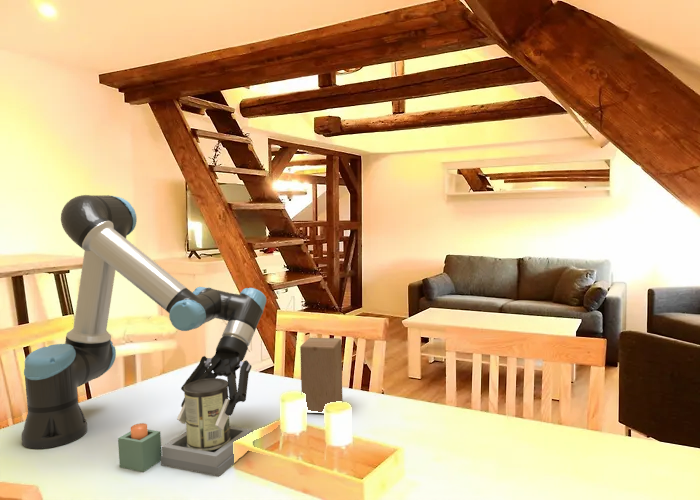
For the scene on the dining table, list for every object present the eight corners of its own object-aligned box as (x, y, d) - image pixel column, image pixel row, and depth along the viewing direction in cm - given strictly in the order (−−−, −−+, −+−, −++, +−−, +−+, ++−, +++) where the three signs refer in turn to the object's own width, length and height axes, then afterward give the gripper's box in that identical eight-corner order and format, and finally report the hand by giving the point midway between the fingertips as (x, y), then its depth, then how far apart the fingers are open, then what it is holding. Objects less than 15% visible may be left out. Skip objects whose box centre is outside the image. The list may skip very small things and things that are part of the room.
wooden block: (335, 415, 148) (333, 347, 147) (301, 413, 150) (299, 345, 149) (342, 402, 158) (341, 338, 156) (311, 401, 160) (309, 337, 158)
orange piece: (128, 449, 121) (127, 428, 121) (139, 442, 124) (138, 422, 124) (140, 451, 120) (139, 430, 119) (151, 444, 123) (150, 424, 123)
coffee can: (209, 429, 133) (207, 375, 131) (239, 438, 127) (237, 381, 126) (176, 445, 124) (174, 387, 123) (207, 455, 118) (204, 395, 117)
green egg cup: (119, 467, 121) (117, 438, 120) (138, 455, 126) (137, 427, 126) (143, 472, 118) (141, 442, 118) (161, 460, 124) (160, 431, 123)
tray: (161, 464, 122) (160, 446, 121) (201, 438, 135) (200, 421, 135) (218, 476, 116) (217, 456, 115) (254, 446, 130) (253, 429, 129)
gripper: (278, 352, 134) (247, 437, 121) (205, 346, 142) (169, 424, 129) (267, 337, 129) (234, 424, 115) (192, 331, 137) (152, 411, 123)
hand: (199, 424), depth 122 cm, fingers closed on coffee can, 10 cm apart
